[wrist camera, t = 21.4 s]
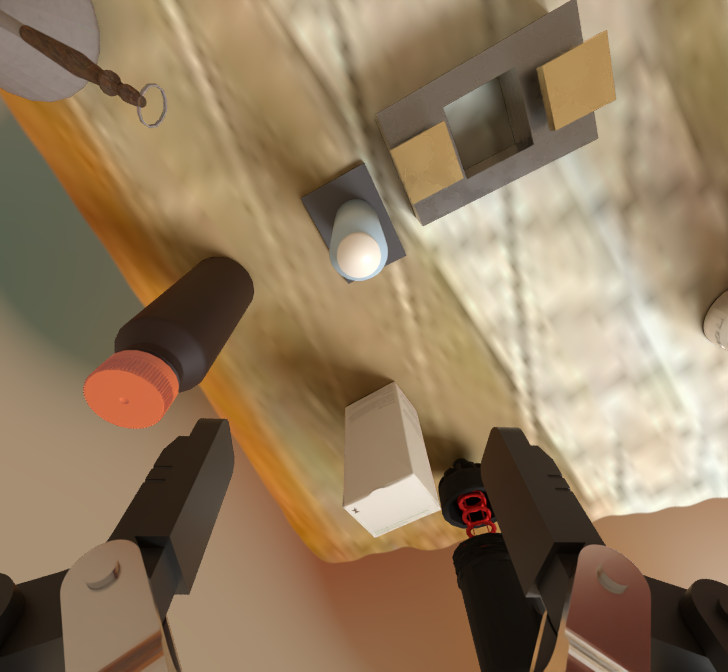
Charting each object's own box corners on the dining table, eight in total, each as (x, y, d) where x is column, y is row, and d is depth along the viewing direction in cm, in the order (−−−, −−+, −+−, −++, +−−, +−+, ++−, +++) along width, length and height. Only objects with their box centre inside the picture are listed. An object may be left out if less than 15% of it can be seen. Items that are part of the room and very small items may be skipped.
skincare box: (367, 434, 52) (372, 541, 38) (342, 404, 49) (337, 508, 35) (419, 409, 50) (444, 513, 36) (395, 376, 47) (412, 475, 33)
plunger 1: (432, 122, 32) (444, 120, 27) (449, 173, 34) (463, 178, 29) (385, 148, 32) (390, 150, 28) (405, 196, 34) (412, 204, 30)
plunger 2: (570, 45, 29) (606, 30, 25) (580, 104, 31) (615, 99, 27) (516, 75, 30) (542, 66, 26) (529, 131, 32) (555, 130, 28)
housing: (549, 13, 29) (575, -3, 26) (573, 138, 34) (598, 138, 30) (374, 116, 33) (376, 113, 29) (416, 217, 37) (422, 226, 34)
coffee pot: (-39, 60, 30) (-342, 1, 17) (-44, -124, 25) (-477, -406, 12) (215, 181, 35) (133, 208, 22) (252, 48, 30) (174, -20, 17)
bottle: (190, 250, 38) (53, 347, 21) (255, 260, 39) (175, 362, 21) (194, 308, 41) (78, 434, 24) (254, 316, 42) (183, 444, 25)
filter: (464, 494, 58) (554, 785, 32) (416, 477, 56) (470, 775, 30) (517, 438, 53) (679, 737, 26) (465, 417, 50) (586, 721, 24)
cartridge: (335, 197, 35) (329, 223, 25) (380, 200, 36) (392, 228, 25) (334, 241, 38) (327, 283, 27) (376, 244, 38) (385, 287, 27)
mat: (364, 162, 34) (364, 163, 34) (405, 254, 39) (406, 255, 38) (301, 197, 36) (300, 198, 35) (348, 282, 40) (348, 283, 40)
